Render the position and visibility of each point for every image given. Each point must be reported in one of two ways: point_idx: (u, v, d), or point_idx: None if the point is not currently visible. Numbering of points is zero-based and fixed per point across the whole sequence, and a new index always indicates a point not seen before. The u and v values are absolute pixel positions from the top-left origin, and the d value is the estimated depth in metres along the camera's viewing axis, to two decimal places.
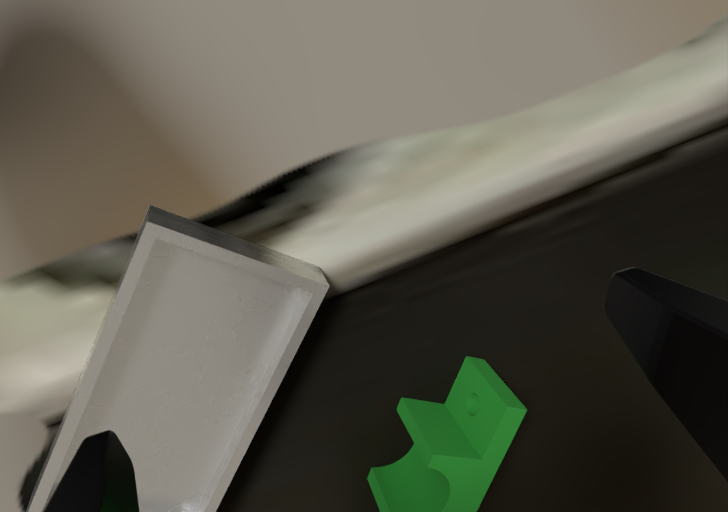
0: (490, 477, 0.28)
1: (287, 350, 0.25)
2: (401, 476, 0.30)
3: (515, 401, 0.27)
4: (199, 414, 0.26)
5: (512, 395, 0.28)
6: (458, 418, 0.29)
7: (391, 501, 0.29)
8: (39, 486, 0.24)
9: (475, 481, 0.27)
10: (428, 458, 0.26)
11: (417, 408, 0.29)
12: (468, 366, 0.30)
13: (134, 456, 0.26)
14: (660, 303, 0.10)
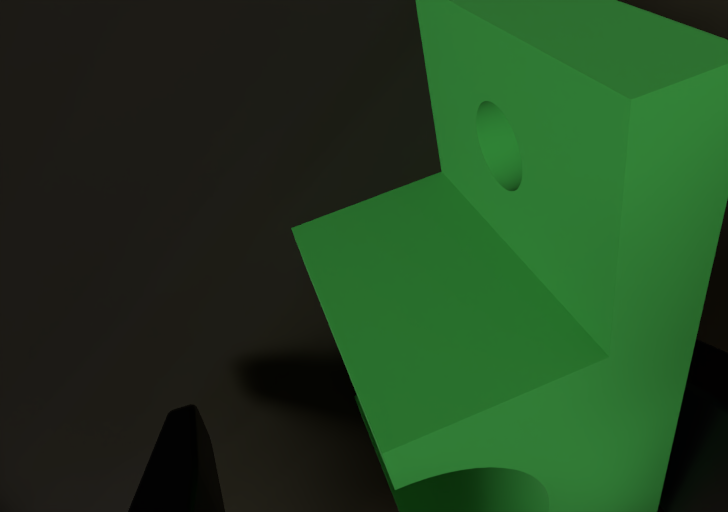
0: (676, 376, 0.07)
1: None
2: None
3: (669, 43, 0.05)
4: None
5: (643, 22, 0.05)
6: (484, 207, 0.08)
7: (411, 493, 0.10)
8: None
9: (620, 416, 0.07)
10: (382, 457, 0.06)
11: (341, 241, 0.09)
12: (430, 13, 0.07)
13: None
14: None
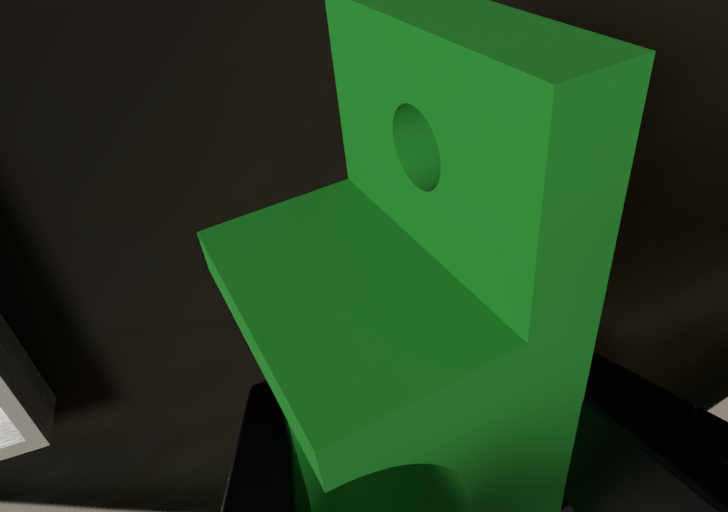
0: (581, 364, 0.07)
1: None
2: None
3: (578, 43, 0.05)
4: None
5: (551, 28, 0.06)
6: (398, 212, 0.08)
7: None
8: None
9: (534, 406, 0.07)
10: (312, 458, 0.06)
11: (254, 248, 0.08)
12: (345, 21, 0.08)
13: None
14: None
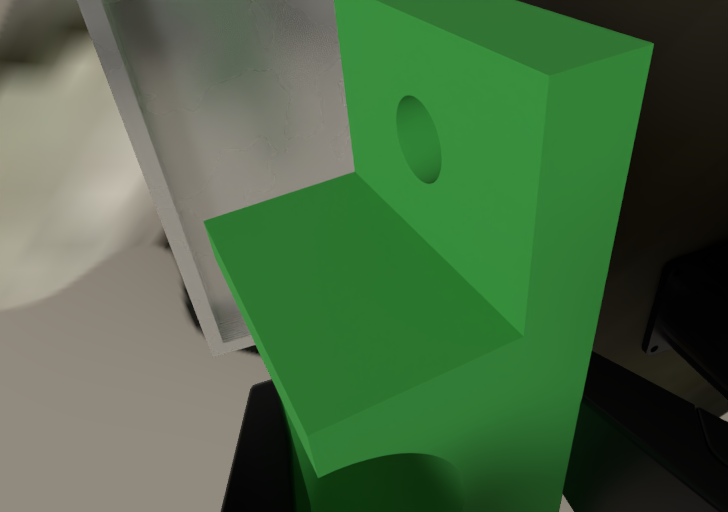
0: (580, 360, 0.07)
1: None
2: None
3: (577, 36, 0.05)
4: (318, 144, 0.19)
5: (552, 20, 0.06)
6: (401, 204, 0.08)
7: (324, 502, 0.10)
8: (196, 309, 0.19)
9: (530, 400, 0.07)
10: (305, 442, 0.06)
11: (258, 237, 0.09)
12: (351, 13, 0.08)
13: None
14: None
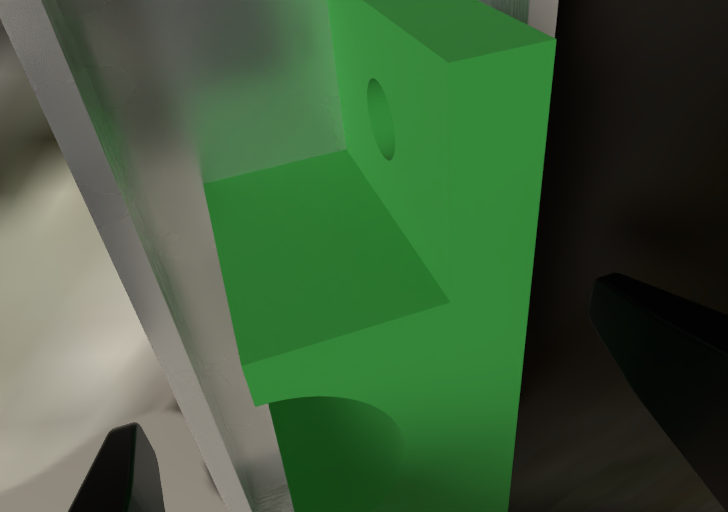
0: (514, 333, 0.08)
1: None
2: None
3: (496, 29, 0.06)
4: None
5: (486, 14, 0.06)
6: (374, 180, 0.09)
7: (295, 449, 0.11)
8: (228, 508, 0.14)
9: (466, 365, 0.08)
10: (246, 375, 0.07)
11: (246, 201, 0.09)
12: (336, 1, 0.08)
13: None
14: (640, 309, 0.09)
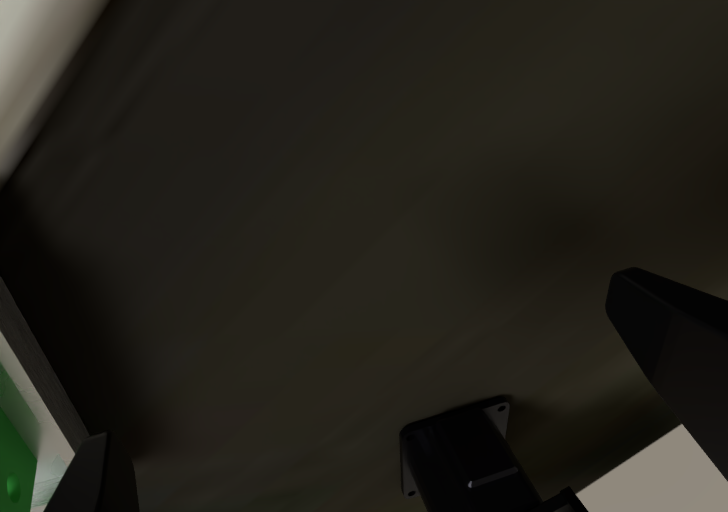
0: None
1: None
2: None
3: None
4: None
5: None
6: None
7: None
8: None
9: None
10: None
11: None
12: None
13: None
14: (660, 303, 0.10)
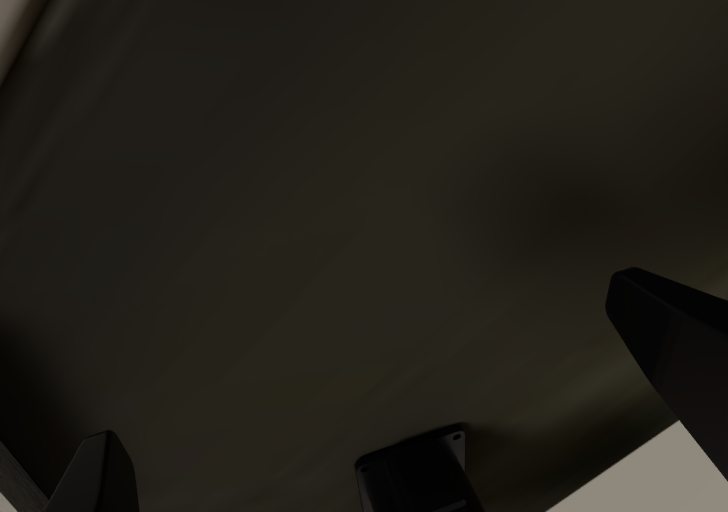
0: None
1: None
2: None
3: None
4: None
5: None
6: None
7: None
8: None
9: None
10: None
11: None
12: None
13: None
14: (660, 303, 0.10)
